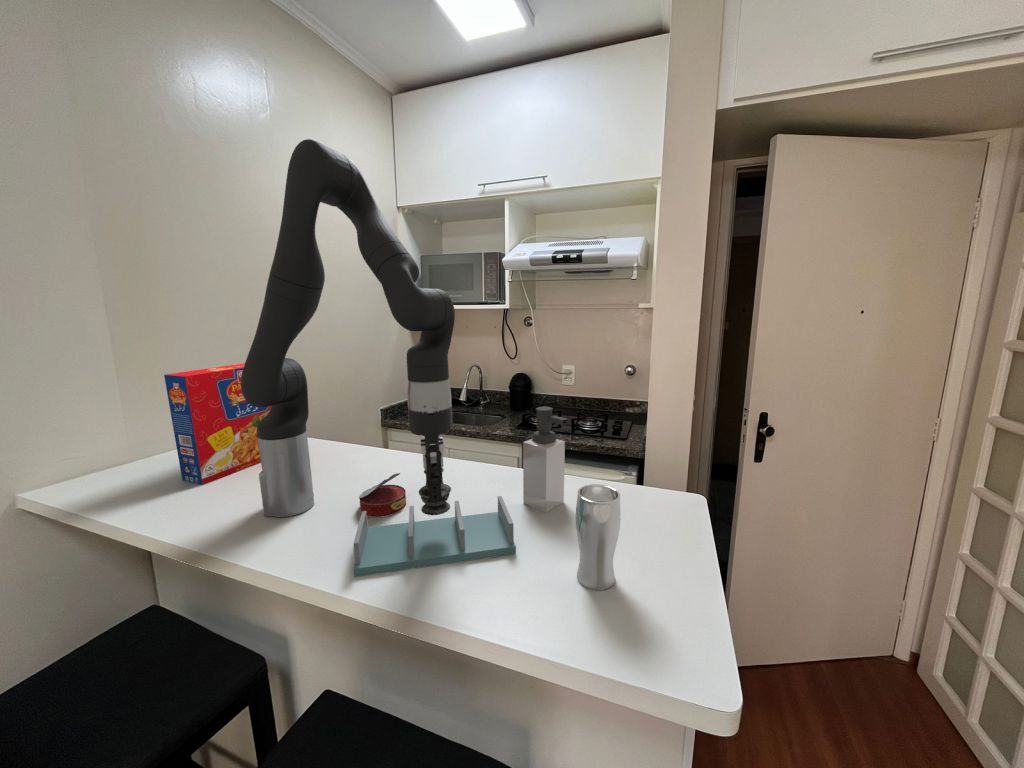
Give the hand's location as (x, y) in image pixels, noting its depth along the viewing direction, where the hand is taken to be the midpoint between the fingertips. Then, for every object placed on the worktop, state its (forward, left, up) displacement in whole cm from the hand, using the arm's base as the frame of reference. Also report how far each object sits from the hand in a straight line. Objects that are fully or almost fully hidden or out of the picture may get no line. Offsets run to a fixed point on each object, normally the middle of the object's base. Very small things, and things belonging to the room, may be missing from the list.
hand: (434, 493), depth 75 cm
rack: (0, 0, -10) cm, 10 cm away
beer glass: (+25, -16, -10) cm, 31 cm away
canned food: (-11, +18, -11) cm, 24 cm away
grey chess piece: (0, 0, -3) cm, 3 cm away
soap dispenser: (+25, +10, -10) cm, 29 cm away
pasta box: (-52, +54, -11) cm, 76 cm away
